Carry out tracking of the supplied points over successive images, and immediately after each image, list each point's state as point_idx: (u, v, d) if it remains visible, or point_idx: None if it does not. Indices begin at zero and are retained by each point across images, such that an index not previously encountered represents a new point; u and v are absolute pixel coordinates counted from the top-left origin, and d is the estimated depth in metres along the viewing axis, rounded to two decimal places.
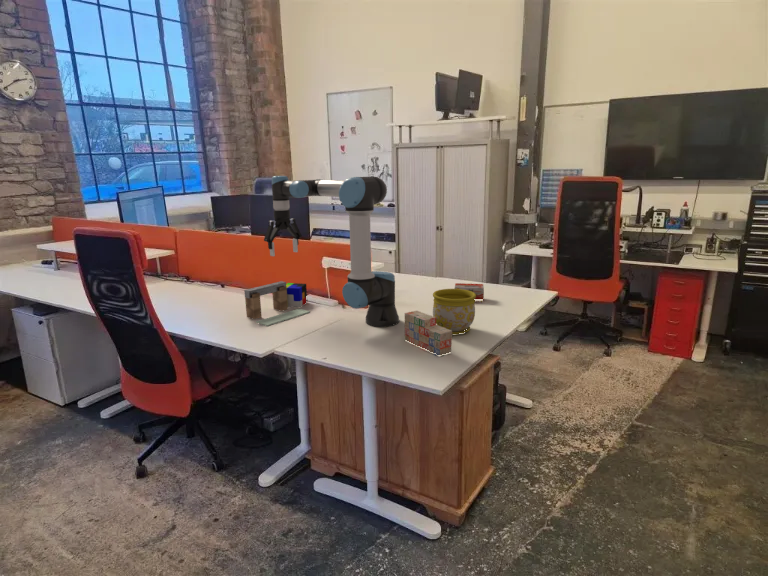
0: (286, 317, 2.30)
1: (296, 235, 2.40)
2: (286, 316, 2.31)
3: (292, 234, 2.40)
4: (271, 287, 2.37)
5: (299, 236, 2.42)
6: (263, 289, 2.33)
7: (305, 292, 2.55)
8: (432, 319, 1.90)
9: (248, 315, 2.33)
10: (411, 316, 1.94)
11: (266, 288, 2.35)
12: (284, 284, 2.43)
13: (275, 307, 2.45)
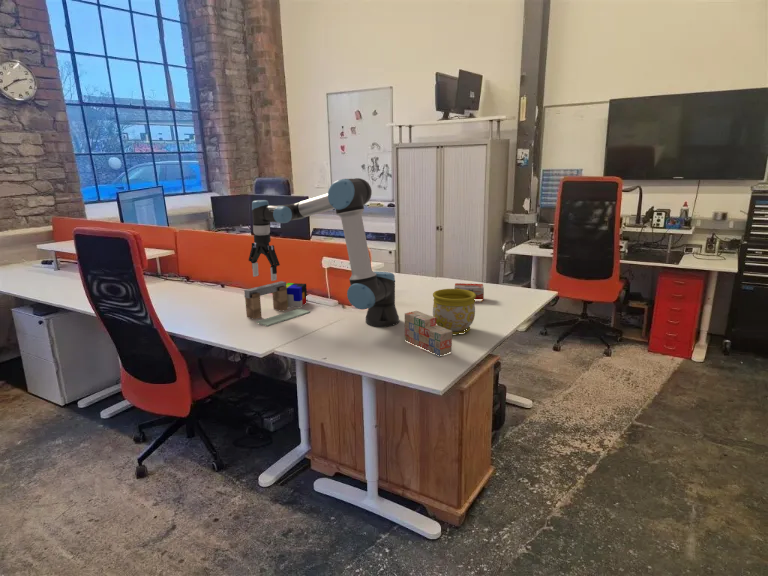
0: (286, 317, 2.30)
1: (271, 263, 2.28)
2: (286, 316, 2.31)
3: None
4: (271, 287, 2.37)
5: (274, 265, 2.28)
6: (263, 289, 2.33)
7: (305, 292, 2.55)
8: (432, 319, 1.90)
9: (248, 315, 2.33)
10: (411, 317, 1.93)
11: (266, 288, 2.35)
12: (284, 284, 2.43)
13: (275, 307, 2.45)
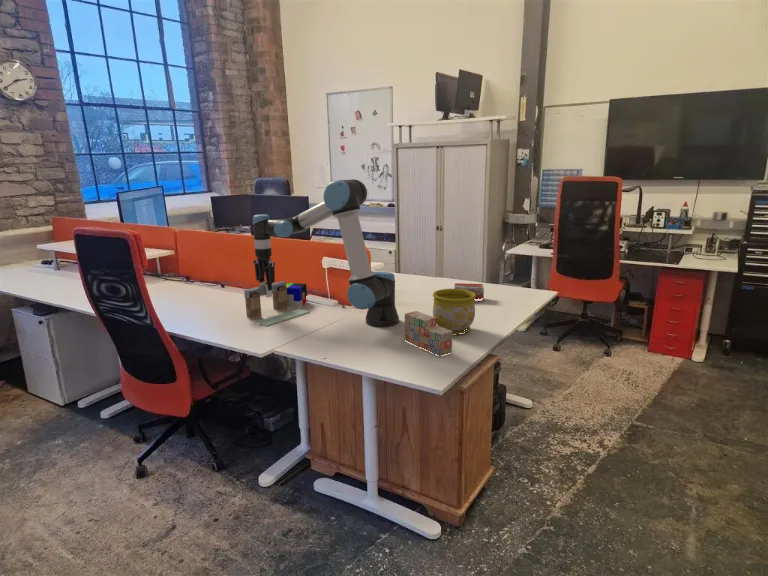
0: (286, 317, 2.30)
1: (267, 280, 2.33)
2: (286, 316, 2.31)
3: None
4: None
5: None
6: (263, 289, 2.33)
7: (305, 292, 2.55)
8: (432, 319, 1.90)
9: (248, 315, 2.33)
10: (411, 317, 1.93)
11: None
12: (284, 284, 2.43)
13: (275, 307, 2.45)
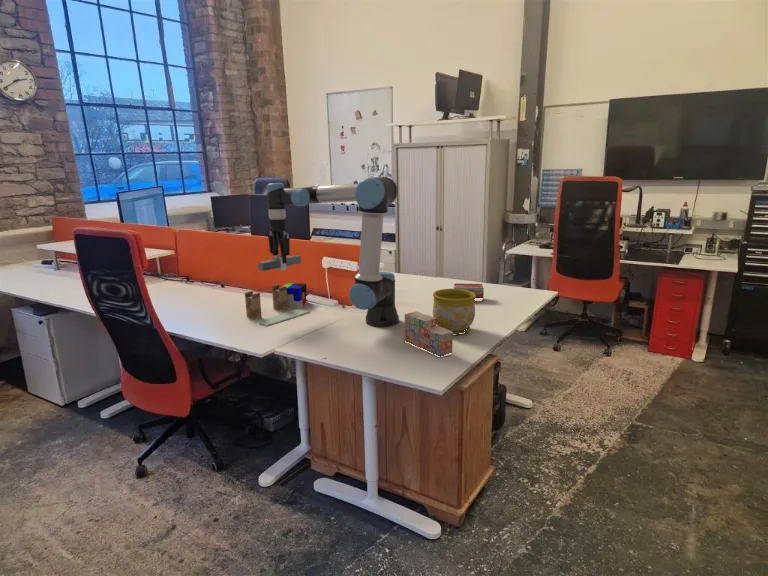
0: (286, 317, 2.30)
1: (281, 252, 2.22)
2: (286, 316, 2.31)
3: None
4: None
5: (284, 254, 2.22)
6: (277, 262, 2.23)
7: (305, 292, 2.55)
8: (433, 320, 1.89)
9: (248, 315, 2.33)
10: (411, 317, 1.92)
11: None
12: (299, 258, 2.32)
13: (275, 307, 2.45)
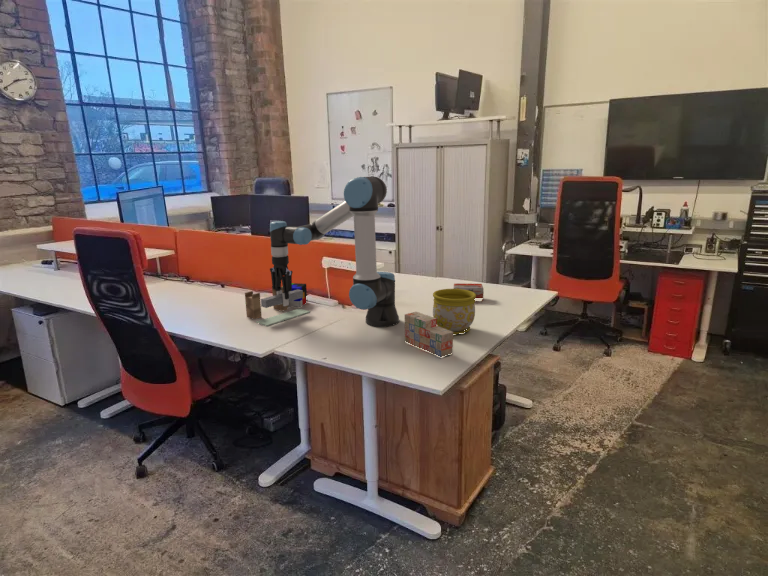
0: (286, 317, 2.30)
1: (284, 288, 2.26)
2: (286, 316, 2.31)
3: None
4: None
5: None
6: (280, 298, 2.27)
7: (305, 292, 2.55)
8: (433, 320, 1.89)
9: (248, 315, 2.33)
10: (411, 318, 1.92)
11: None
12: (301, 292, 2.36)
13: (275, 307, 2.45)
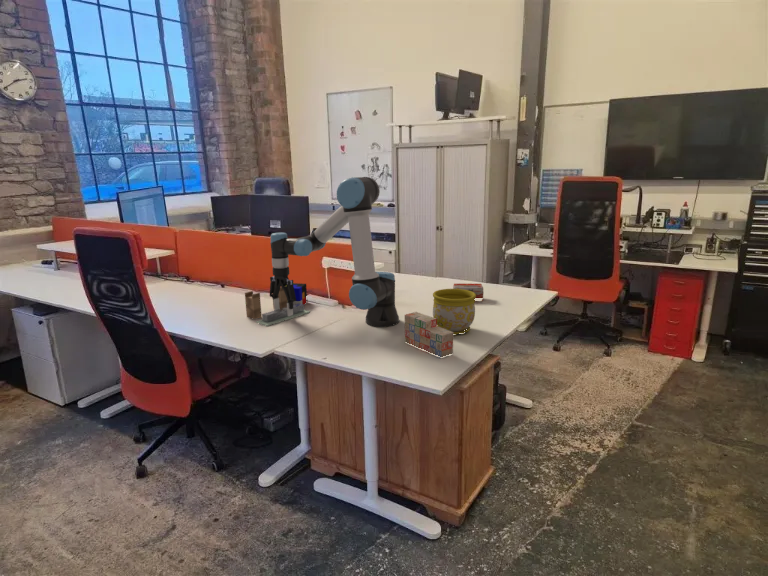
0: (286, 317, 2.30)
1: (288, 298, 2.26)
2: None
3: None
4: None
5: (291, 300, 2.25)
6: (281, 313, 2.28)
7: (305, 292, 2.55)
8: (433, 320, 1.88)
9: (248, 315, 2.33)
10: (411, 318, 1.92)
11: (284, 311, 2.30)
12: (302, 306, 2.38)
13: None
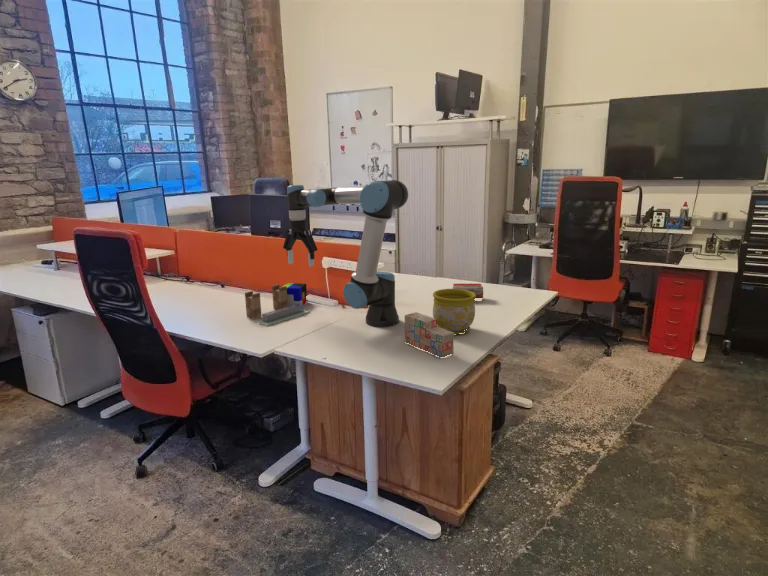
0: (286, 317, 2.30)
1: (308, 248, 2.24)
2: None
3: None
4: (289, 310, 2.32)
5: (312, 250, 2.23)
6: (281, 313, 2.28)
7: (305, 292, 2.55)
8: (433, 321, 1.88)
9: (248, 315, 2.33)
10: (411, 318, 1.91)
11: (284, 311, 2.30)
12: (302, 306, 2.38)
13: (275, 307, 2.45)
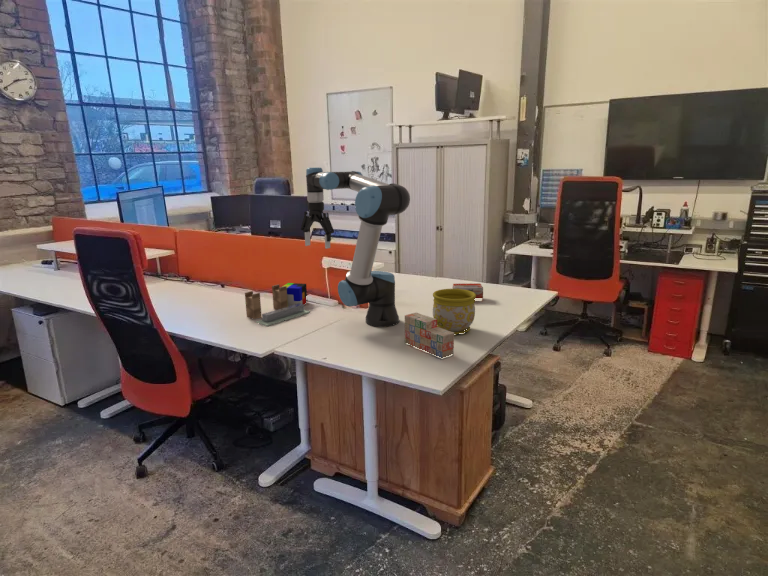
0: (286, 317, 2.30)
1: (325, 230, 2.27)
2: None
3: None
4: (289, 310, 2.32)
5: (329, 232, 2.26)
6: (281, 313, 2.28)
7: (305, 292, 2.55)
8: (433, 321, 1.88)
9: (248, 315, 2.33)
10: (412, 319, 1.91)
11: (284, 311, 2.30)
12: (302, 306, 2.38)
13: (275, 307, 2.45)
